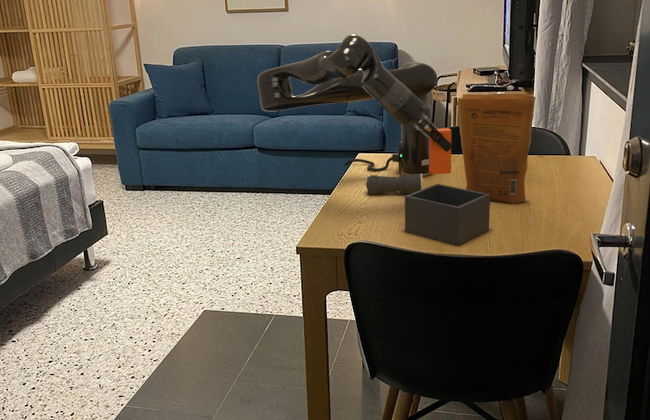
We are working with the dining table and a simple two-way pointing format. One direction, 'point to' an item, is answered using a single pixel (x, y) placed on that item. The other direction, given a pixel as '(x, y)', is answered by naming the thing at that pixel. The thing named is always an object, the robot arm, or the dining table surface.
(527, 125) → the pancake mix bag
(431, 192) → the trash bin
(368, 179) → the flashlight
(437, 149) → the block
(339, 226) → the dining table surface
